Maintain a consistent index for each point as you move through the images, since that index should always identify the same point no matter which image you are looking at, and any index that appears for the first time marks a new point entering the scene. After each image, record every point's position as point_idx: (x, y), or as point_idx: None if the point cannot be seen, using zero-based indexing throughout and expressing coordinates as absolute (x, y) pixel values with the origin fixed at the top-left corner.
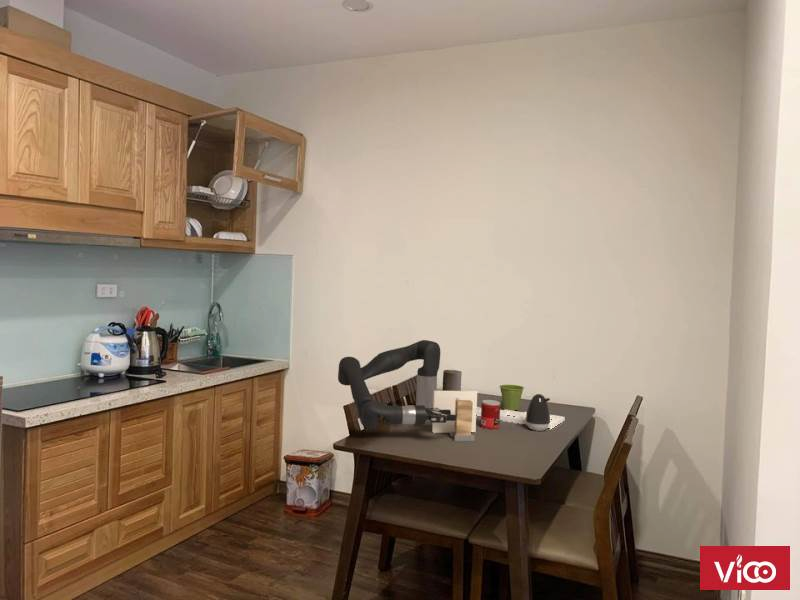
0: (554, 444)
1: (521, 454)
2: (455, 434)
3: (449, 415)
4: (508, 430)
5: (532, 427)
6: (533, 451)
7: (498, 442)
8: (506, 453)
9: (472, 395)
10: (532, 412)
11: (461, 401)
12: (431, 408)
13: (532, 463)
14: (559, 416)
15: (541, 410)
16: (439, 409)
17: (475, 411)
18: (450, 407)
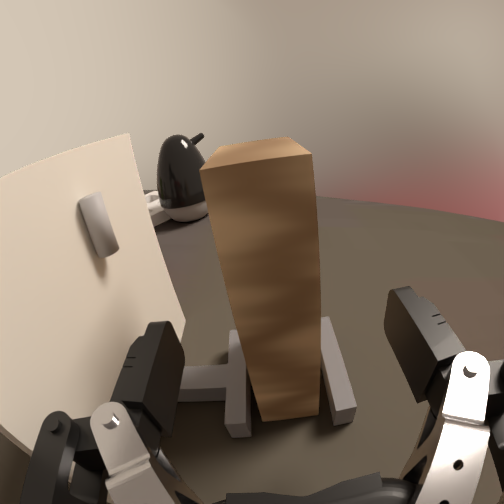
0: (316, 202)
1: (433, 238)
2: (295, 404)
3: (439, 334)
4: (184, 249)
5: (201, 212)
6: (392, 222)
7: (328, 271)
8: (446, 260)
9: (122, 158)
10: (193, 176)
11: (276, 149)
12: (45, 498)
13: (484, 229)
14: (148, 194)
15: (204, 163)
16: (120, 424)
17: (154, 237)
18: (82, 306)
